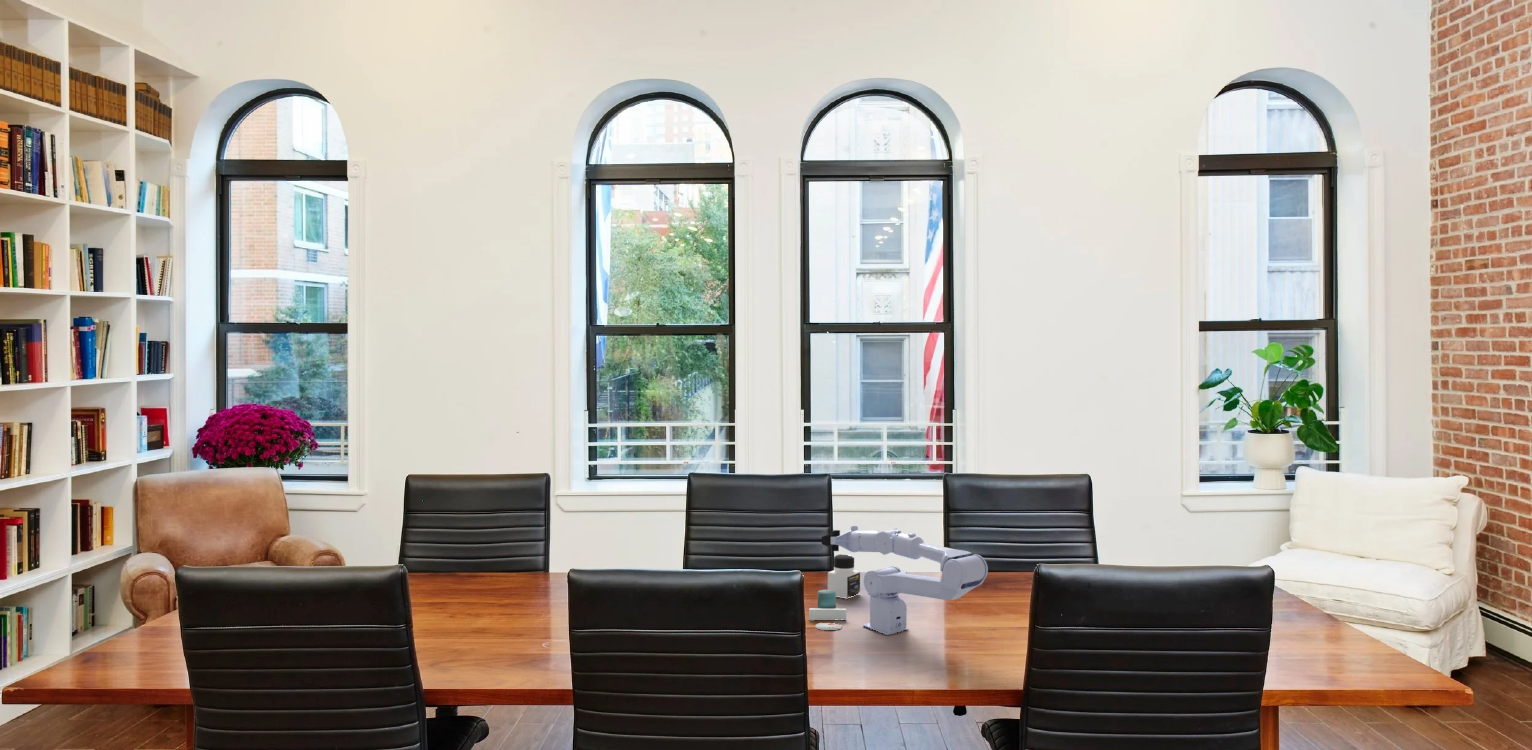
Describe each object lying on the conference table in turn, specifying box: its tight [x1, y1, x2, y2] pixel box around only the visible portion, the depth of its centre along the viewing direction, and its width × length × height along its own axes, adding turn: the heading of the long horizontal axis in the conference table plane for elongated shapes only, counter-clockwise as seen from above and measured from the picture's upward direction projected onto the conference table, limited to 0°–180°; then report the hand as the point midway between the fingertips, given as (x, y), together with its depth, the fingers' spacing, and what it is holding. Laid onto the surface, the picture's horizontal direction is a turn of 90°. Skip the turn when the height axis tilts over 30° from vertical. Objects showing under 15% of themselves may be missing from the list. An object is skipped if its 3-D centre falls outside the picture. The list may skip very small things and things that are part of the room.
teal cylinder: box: [817, 589, 837, 609], centre depth 252 cm, size 5×5×6 cm
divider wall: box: [808, 607, 847, 621], centre depth 246 cm, size 10×1×3 cm, turn 89°
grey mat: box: [815, 622, 843, 631], centre depth 240 cm, size 7×7×1 cm
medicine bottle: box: [827, 553, 861, 598], centre depth 270 cm, size 7×7×12 cm
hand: (832, 540), depth 255 cm, fingers open, 7 cm apart
